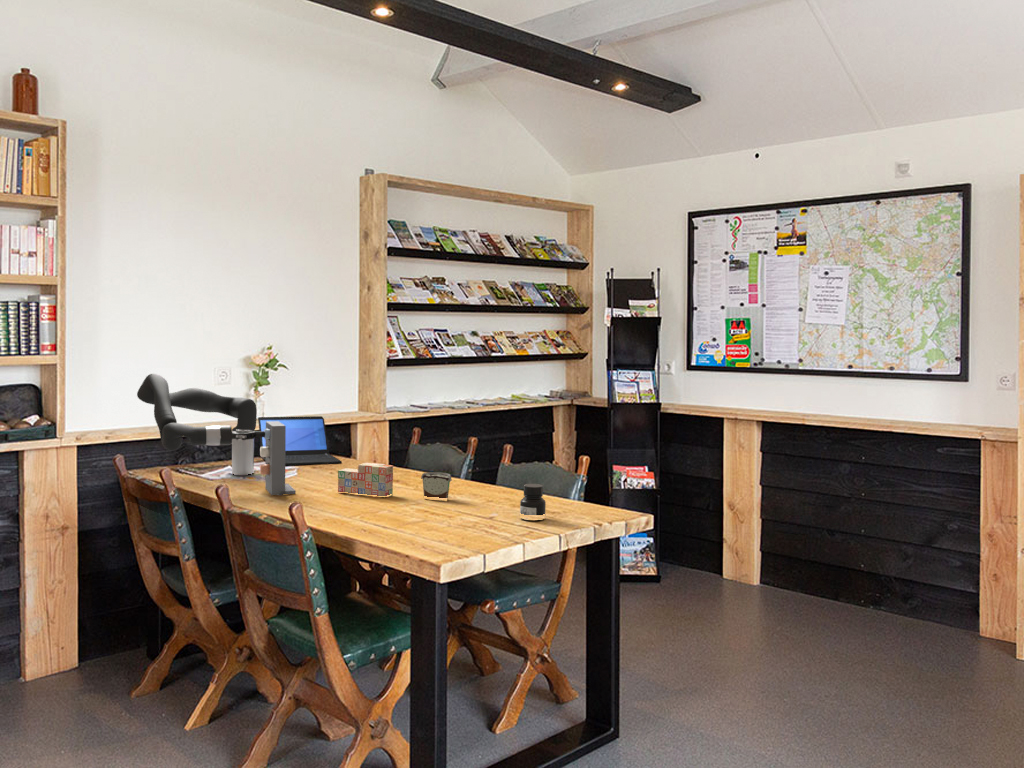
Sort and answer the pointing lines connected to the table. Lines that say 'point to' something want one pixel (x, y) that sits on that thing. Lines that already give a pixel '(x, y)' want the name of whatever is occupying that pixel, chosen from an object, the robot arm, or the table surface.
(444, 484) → the food container
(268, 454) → the cream button
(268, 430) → the slate button
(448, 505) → the table surface
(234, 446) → the robot arm
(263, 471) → the terracotta button
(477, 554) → the table surface
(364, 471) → the stack of blocks
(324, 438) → the laptop
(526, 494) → the ink bottle
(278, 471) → the grey upright post stand
